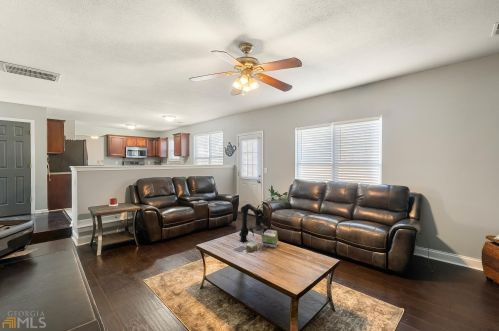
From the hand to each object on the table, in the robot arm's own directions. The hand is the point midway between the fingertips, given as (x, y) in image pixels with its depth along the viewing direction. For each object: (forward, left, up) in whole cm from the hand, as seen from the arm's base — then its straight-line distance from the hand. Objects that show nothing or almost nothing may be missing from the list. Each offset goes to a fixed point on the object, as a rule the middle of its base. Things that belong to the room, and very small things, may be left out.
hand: (258, 236), depth 232 cm
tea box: (+5, +17, -11) cm, 21 cm away
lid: (-3, -7, -8) cm, 11 cm away
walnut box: (-3, -7, -13) cm, 15 cm away
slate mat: (-14, -11, -13) cm, 22 cm away
